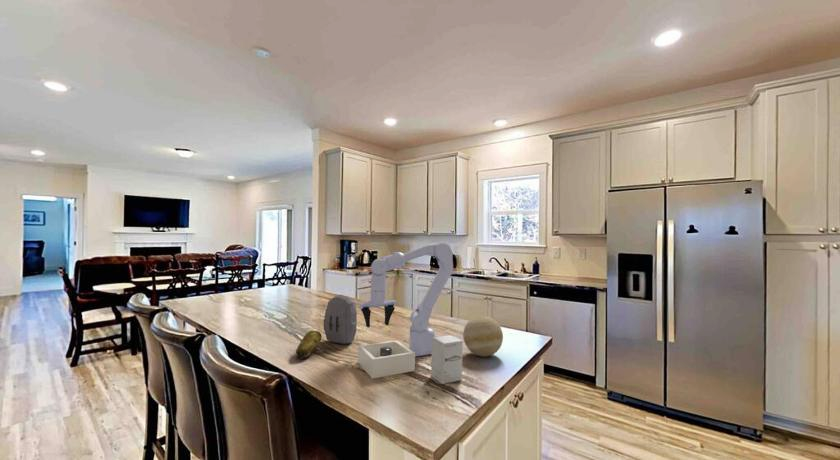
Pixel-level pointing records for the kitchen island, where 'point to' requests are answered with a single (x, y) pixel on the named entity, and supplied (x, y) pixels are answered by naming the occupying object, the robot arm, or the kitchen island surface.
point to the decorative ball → (483, 336)
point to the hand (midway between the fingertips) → (377, 325)
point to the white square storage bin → (386, 359)
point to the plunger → (385, 351)
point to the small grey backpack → (340, 320)
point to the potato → (308, 344)
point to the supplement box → (446, 359)
